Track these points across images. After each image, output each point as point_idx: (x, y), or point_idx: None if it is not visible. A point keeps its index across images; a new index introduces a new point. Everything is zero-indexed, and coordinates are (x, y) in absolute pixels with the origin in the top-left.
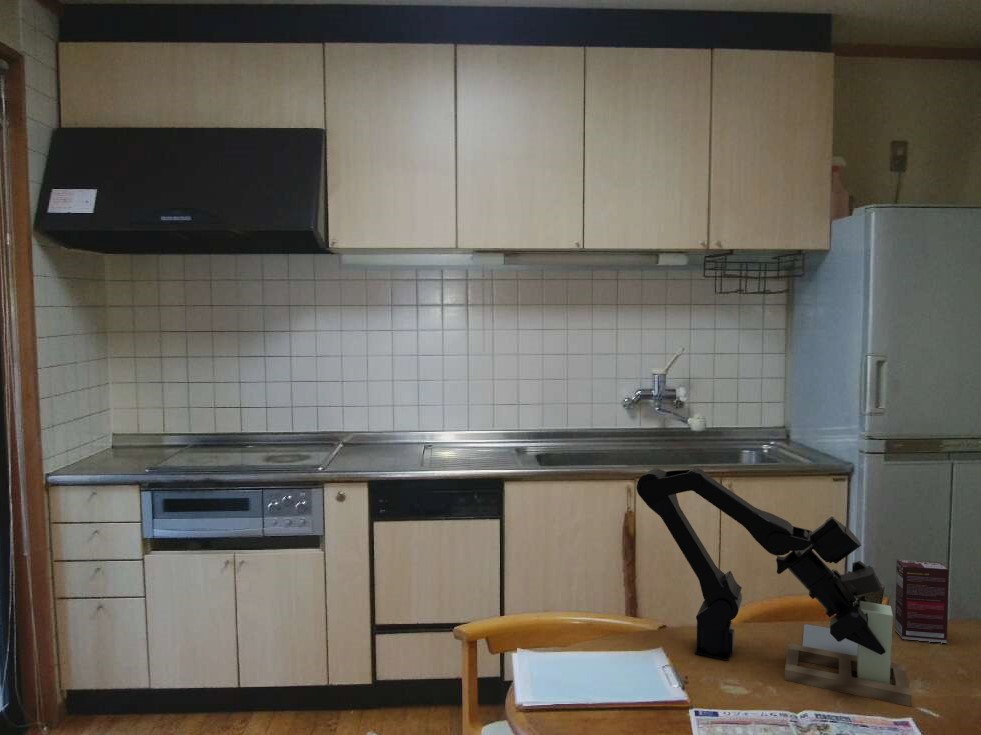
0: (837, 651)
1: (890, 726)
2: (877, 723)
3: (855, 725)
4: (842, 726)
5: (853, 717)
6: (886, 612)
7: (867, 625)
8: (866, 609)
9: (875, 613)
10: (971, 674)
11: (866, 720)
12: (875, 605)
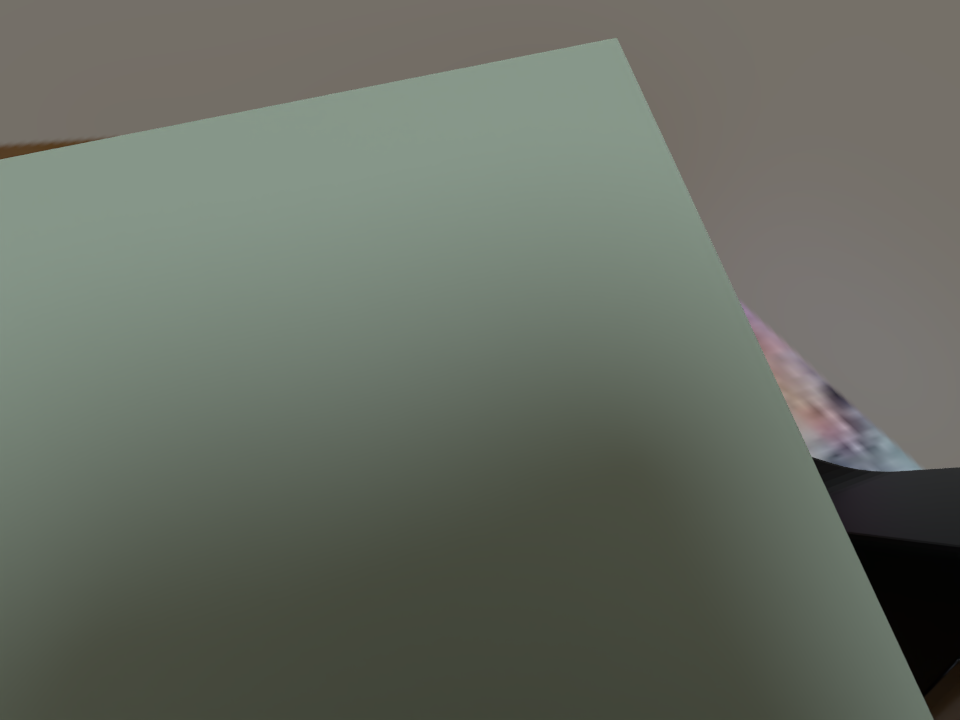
0: None
1: (758, 318)
2: (777, 360)
3: (860, 421)
4: (910, 458)
5: (810, 445)
6: (521, 174)
7: (934, 473)
8: (740, 702)
9: (756, 395)
10: (21, 147)
11: (790, 398)
12: (86, 577)
